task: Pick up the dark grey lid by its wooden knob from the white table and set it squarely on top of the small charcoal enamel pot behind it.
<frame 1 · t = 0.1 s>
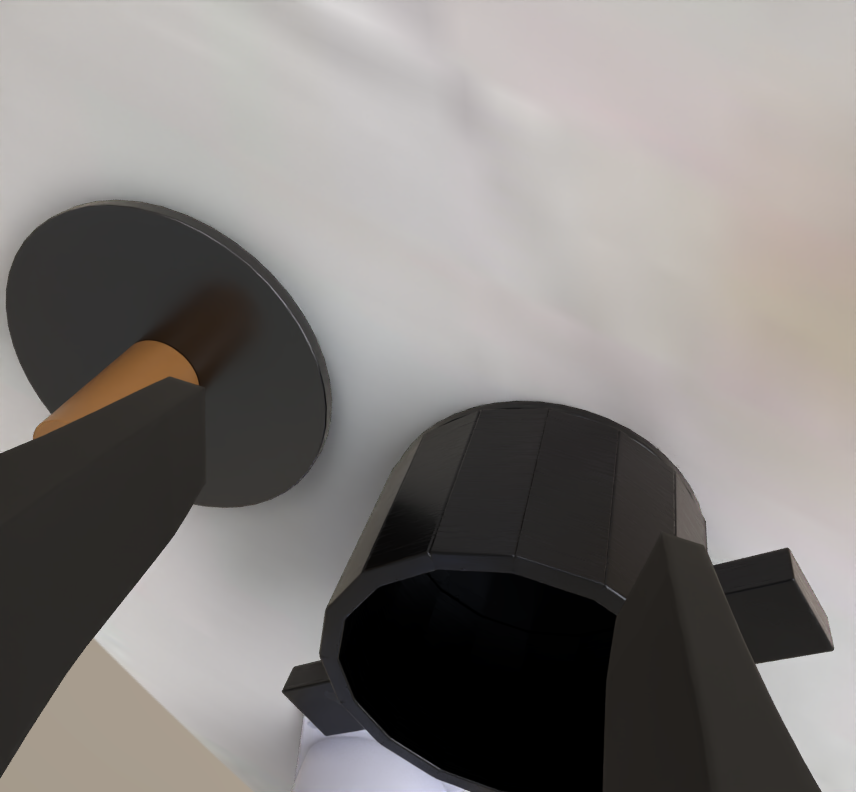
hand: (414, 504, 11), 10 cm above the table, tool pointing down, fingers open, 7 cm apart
pot: (539, 530, 25), on the table
lid: (170, 367, 24), point 1 cm above the table
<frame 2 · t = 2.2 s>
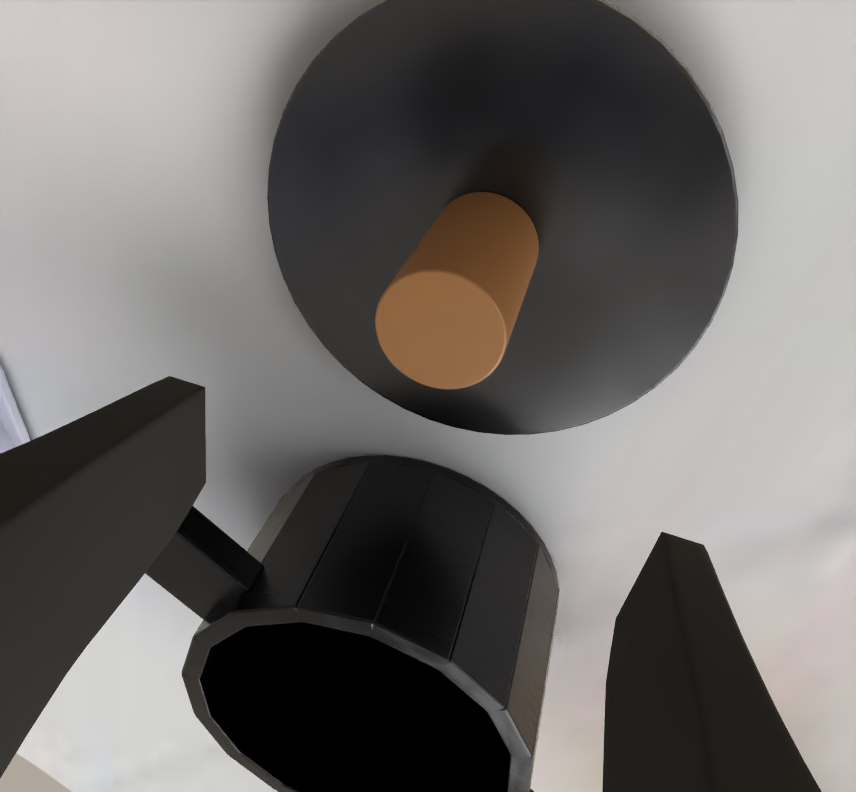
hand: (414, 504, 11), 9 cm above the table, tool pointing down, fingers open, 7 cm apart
pot: (411, 571, 26), on the table
lid: (488, 237, 18), point 1 cm above the table
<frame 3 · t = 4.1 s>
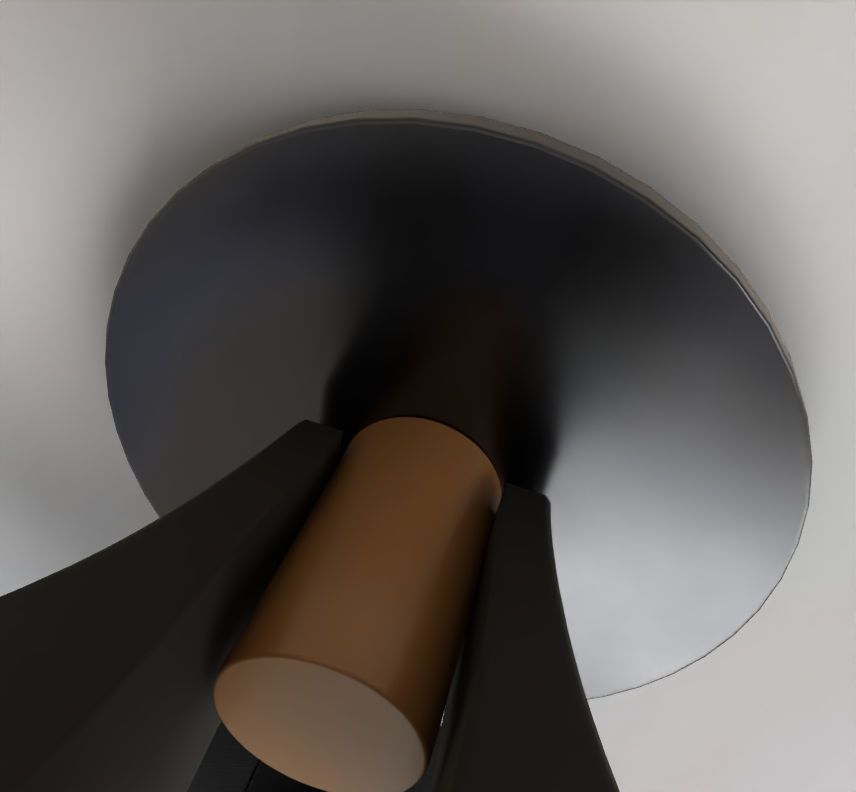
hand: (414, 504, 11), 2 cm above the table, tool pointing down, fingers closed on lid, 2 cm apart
lid: (429, 463, 12), point 1 cm above the table, touching gripper
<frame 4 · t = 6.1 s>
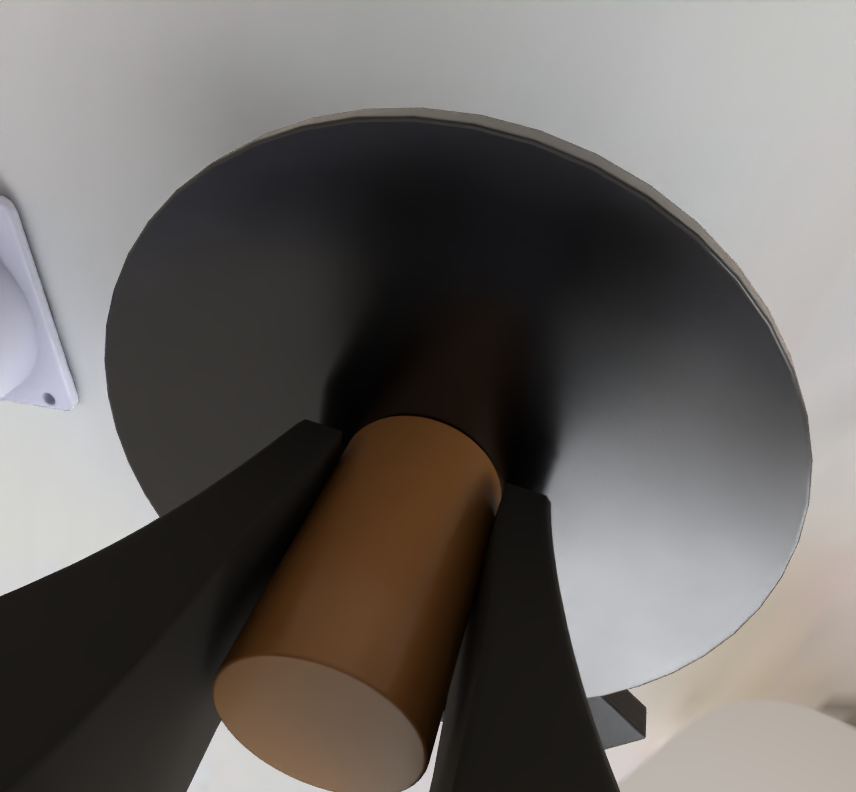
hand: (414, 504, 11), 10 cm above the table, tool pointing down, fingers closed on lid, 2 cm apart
pot: (468, 444, 24), on the table
lid: (429, 462, 12), point 9 cm above the table, touching gripper
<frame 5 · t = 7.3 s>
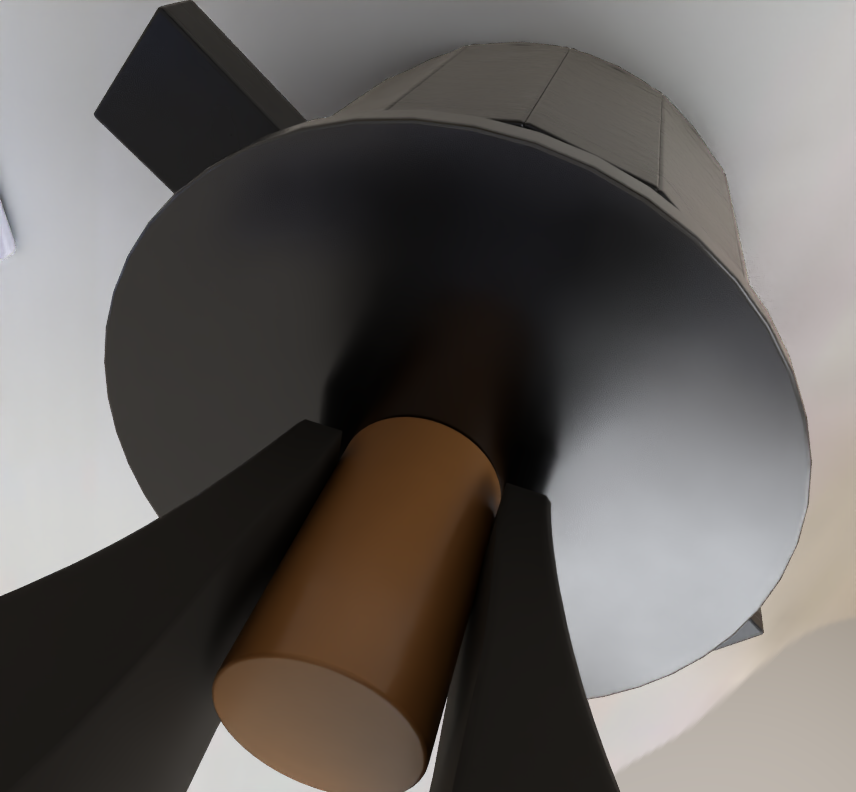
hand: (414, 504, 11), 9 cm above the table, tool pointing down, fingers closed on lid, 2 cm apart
pot: (510, 271, 18), on the table
lid: (428, 463, 12), point 8 cm above the table, touching gripper
when the fingers open (7 cm above the table, at t = 8.0 s): lid stays where it is, resting on pot.
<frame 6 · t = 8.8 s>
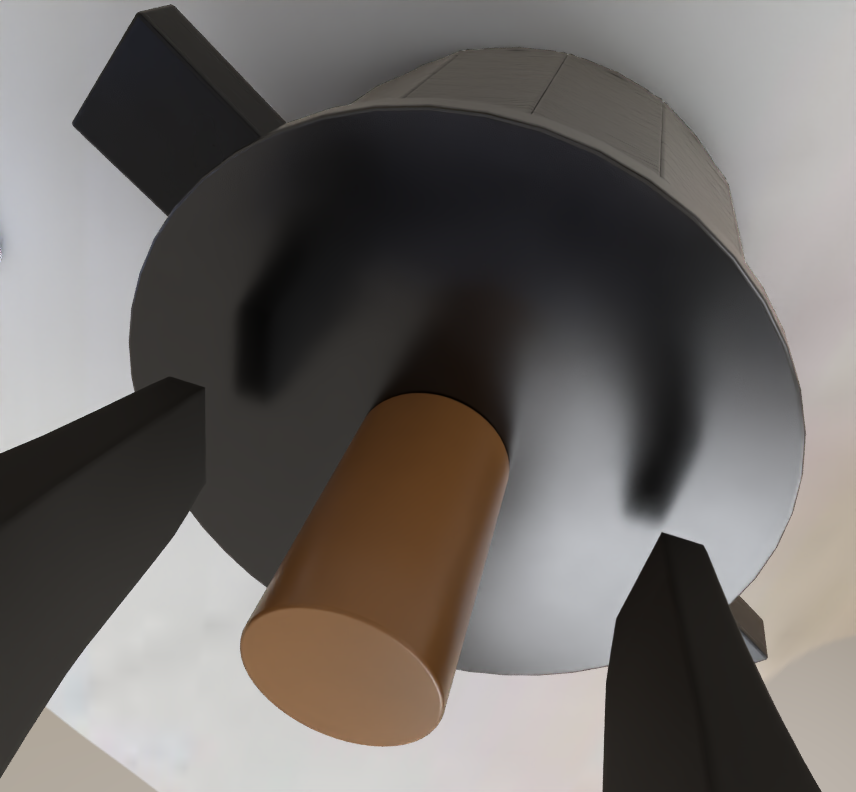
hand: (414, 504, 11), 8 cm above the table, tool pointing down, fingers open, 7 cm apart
pot: (506, 282, 18), on the table
lid: (439, 439, 13), point 6 cm above the table, touching pot
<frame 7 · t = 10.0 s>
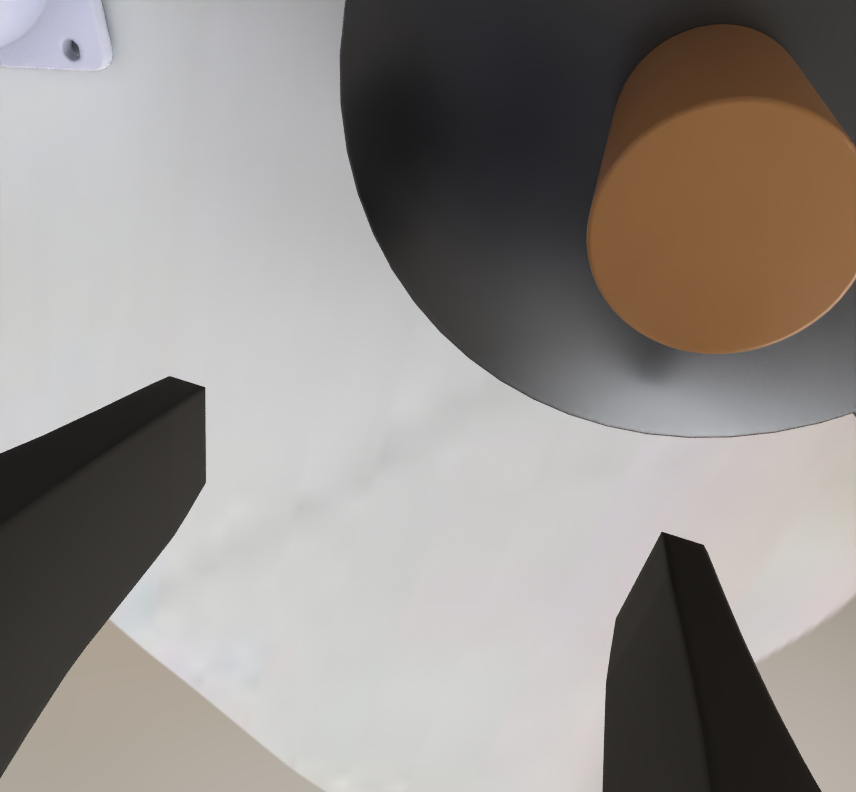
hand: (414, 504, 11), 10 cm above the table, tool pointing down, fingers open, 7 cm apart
lid: (704, 115, 11), point 6 cm above the table, touching pot
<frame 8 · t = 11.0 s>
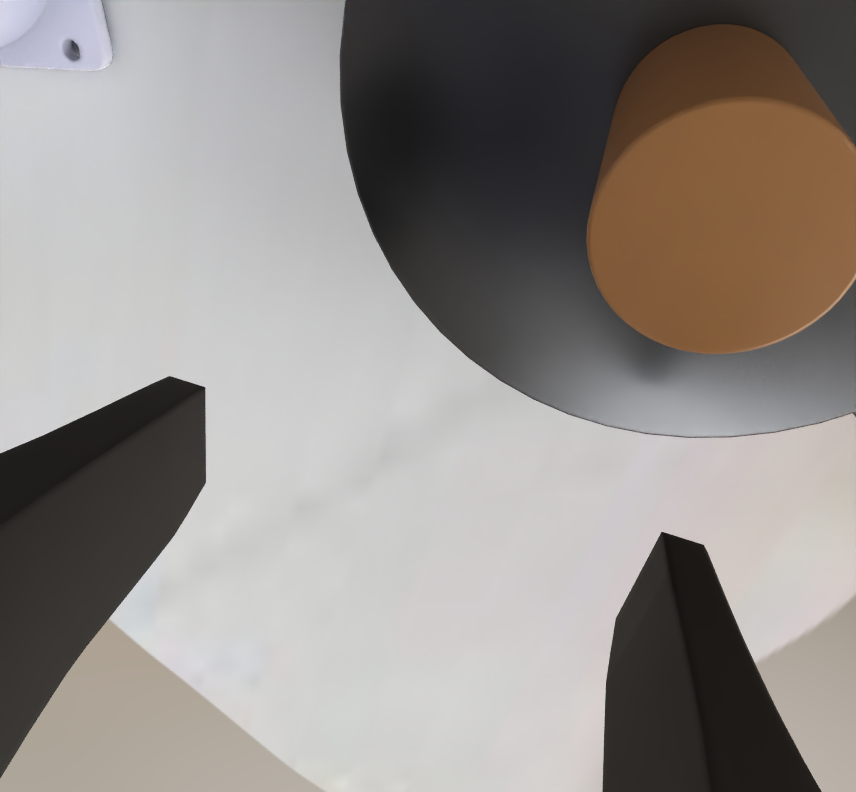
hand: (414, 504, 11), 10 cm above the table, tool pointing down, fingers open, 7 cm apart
lid: (704, 115, 11), point 6 cm above the table, touching pot
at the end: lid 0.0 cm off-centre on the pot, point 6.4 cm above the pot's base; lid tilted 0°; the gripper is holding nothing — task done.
